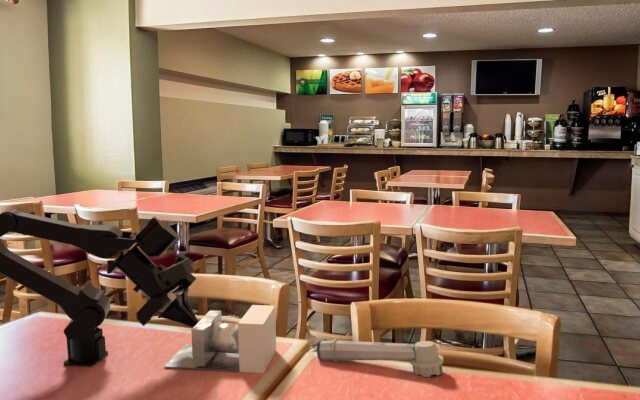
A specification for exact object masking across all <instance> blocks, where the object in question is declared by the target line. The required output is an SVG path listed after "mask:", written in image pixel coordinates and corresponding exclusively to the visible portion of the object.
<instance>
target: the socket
mask: <svg viewBox="0 0 640 400" xmlns="http://www.w3.org/2000/svg"><path fill="white" fill-rule="evenodd" d="M276 326H277V324H276V305H267V304H266V305H261V304H251V306H250V308H249V309H248V310H247V311H246V312H245V314H244V315H243V316H242V318H241V319H240V320H239V321H238V339H239V370H240V372H239V373H249V374H250V373H253V374H265V373H266V371H267V369H268V367H269V366H270V363H271V362H272V360H273V358H274V355H275V353H276V351H277V334H276V333H277V330H276V329H277V328H276Z"/></svg>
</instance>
